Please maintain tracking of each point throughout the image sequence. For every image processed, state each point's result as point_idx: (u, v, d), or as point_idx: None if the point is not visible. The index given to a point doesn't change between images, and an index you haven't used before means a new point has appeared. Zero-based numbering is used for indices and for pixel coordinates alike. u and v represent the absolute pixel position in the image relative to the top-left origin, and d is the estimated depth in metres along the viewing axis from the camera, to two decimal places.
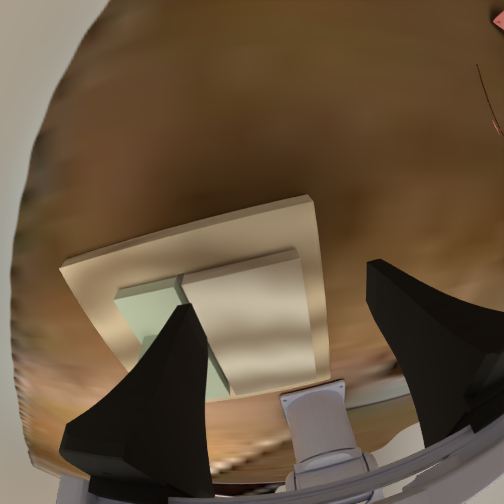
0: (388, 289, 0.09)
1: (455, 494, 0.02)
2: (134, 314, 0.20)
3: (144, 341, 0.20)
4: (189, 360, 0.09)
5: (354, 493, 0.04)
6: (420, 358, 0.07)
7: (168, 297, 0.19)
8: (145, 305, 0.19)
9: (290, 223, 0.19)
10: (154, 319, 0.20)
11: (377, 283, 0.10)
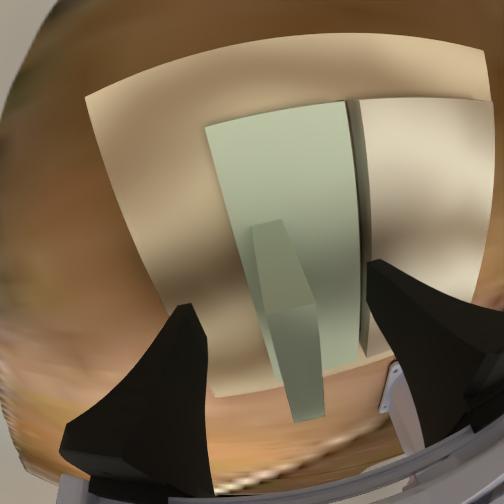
0: (388, 289, 0.09)
1: (455, 494, 0.02)
2: (245, 164, 0.10)
3: (256, 231, 0.10)
4: (189, 359, 0.09)
5: (354, 493, 0.04)
6: (420, 358, 0.07)
7: (329, 123, 0.09)
8: (277, 139, 0.09)
9: (468, 66, 0.09)
10: (286, 177, 0.10)
11: (377, 283, 0.10)
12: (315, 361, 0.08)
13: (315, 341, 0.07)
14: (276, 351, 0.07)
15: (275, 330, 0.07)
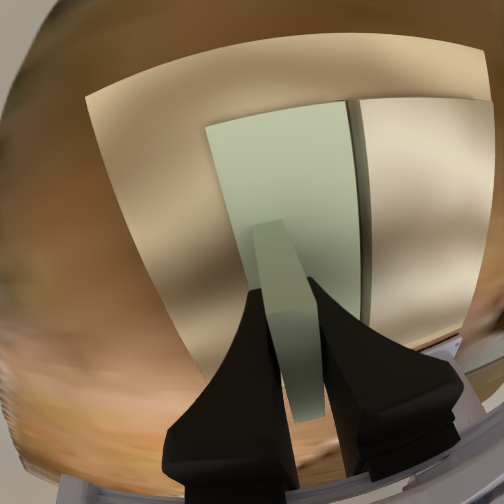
0: None
1: (455, 494, 0.02)
2: (246, 164, 0.10)
3: (256, 231, 0.10)
4: (273, 345, 0.09)
5: (354, 493, 0.04)
6: (332, 388, 0.07)
7: (330, 123, 0.09)
8: (277, 139, 0.09)
9: (468, 66, 0.09)
10: (287, 177, 0.10)
11: None
12: (315, 361, 0.08)
13: (316, 341, 0.07)
14: (276, 351, 0.07)
15: (276, 330, 0.07)
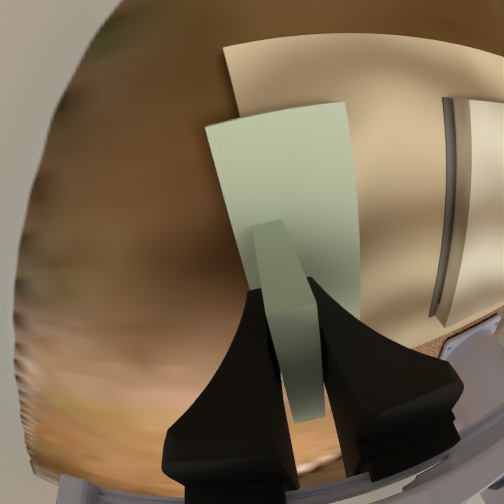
0: None
1: (455, 494, 0.02)
2: (246, 164, 0.10)
3: (256, 231, 0.10)
4: (273, 344, 0.09)
5: (354, 493, 0.04)
6: (332, 388, 0.07)
7: (330, 123, 0.09)
8: (277, 139, 0.09)
9: None
10: (287, 177, 0.10)
11: None
12: (315, 361, 0.08)
13: (316, 341, 0.07)
14: (276, 351, 0.07)
15: (276, 330, 0.07)
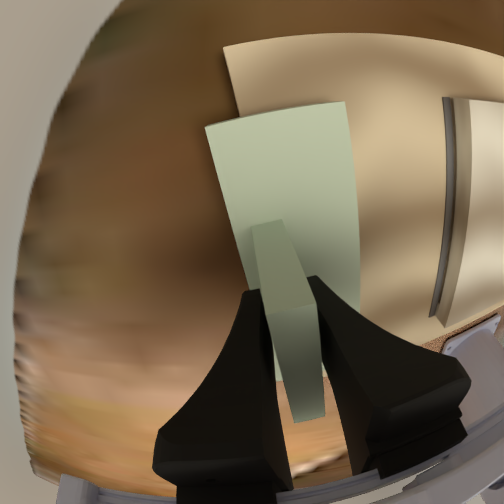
0: None
1: (455, 494, 0.02)
2: (246, 164, 0.10)
3: (256, 231, 0.10)
4: (266, 346, 0.09)
5: (354, 493, 0.04)
6: (339, 386, 0.07)
7: (330, 123, 0.09)
8: (277, 139, 0.09)
9: None
10: (287, 177, 0.10)
11: None
12: (315, 361, 0.08)
13: (315, 341, 0.07)
14: (276, 351, 0.07)
15: (275, 330, 0.07)
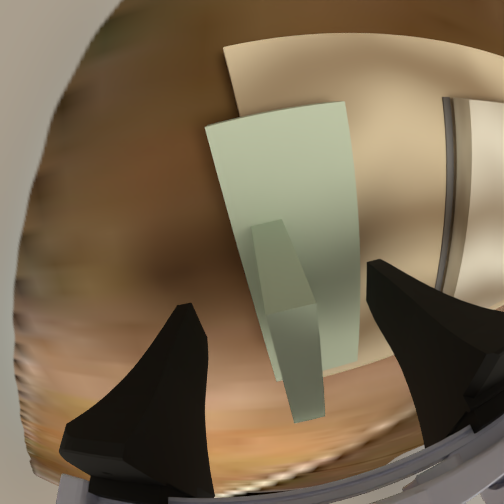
0: (388, 289, 0.09)
1: (455, 494, 0.02)
2: (246, 164, 0.10)
3: (256, 231, 0.10)
4: (189, 359, 0.09)
5: (354, 493, 0.04)
6: (420, 358, 0.07)
7: (330, 123, 0.09)
8: (277, 139, 0.09)
9: None
10: (287, 177, 0.10)
11: (377, 283, 0.10)
12: (315, 361, 0.08)
13: (315, 341, 0.07)
14: (276, 351, 0.07)
15: (275, 330, 0.07)
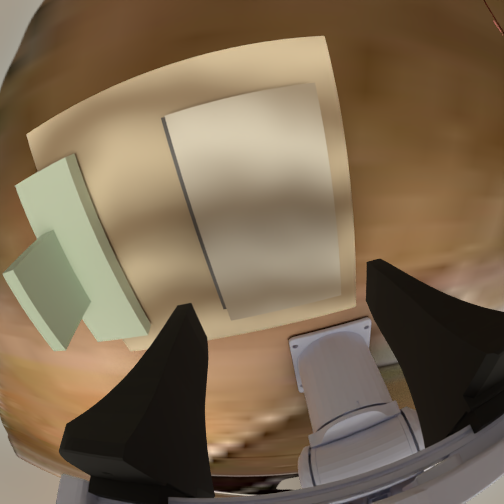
0: (388, 289, 0.09)
1: (455, 494, 0.02)
2: (32, 202, 0.14)
3: (39, 237, 0.15)
4: (189, 359, 0.09)
5: (354, 493, 0.04)
6: (420, 358, 0.07)
7: (60, 172, 0.14)
8: (40, 187, 0.14)
9: (300, 55, 0.13)
10: (49, 206, 0.15)
11: (377, 283, 0.10)
12: (30, 302, 0.12)
13: (23, 290, 0.12)
14: (14, 293, 0.12)
15: (8, 282, 0.11)
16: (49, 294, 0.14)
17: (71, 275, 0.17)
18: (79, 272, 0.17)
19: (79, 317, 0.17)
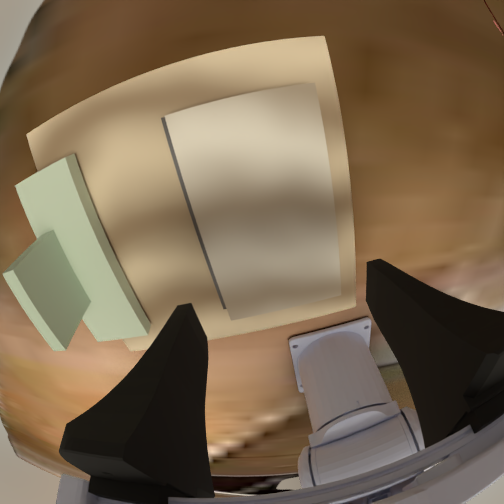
0: (388, 289, 0.09)
1: (455, 494, 0.02)
2: (32, 202, 0.14)
3: (39, 237, 0.15)
4: (189, 359, 0.09)
5: (354, 493, 0.04)
6: (420, 358, 0.07)
7: (60, 172, 0.14)
8: (40, 187, 0.14)
9: (300, 55, 0.13)
10: (49, 206, 0.15)
11: (377, 283, 0.10)
12: (30, 302, 0.12)
13: (23, 290, 0.12)
14: (14, 293, 0.12)
15: (8, 282, 0.11)
16: (49, 294, 0.14)
17: (71, 275, 0.17)
18: (79, 272, 0.17)
19: (79, 317, 0.17)
